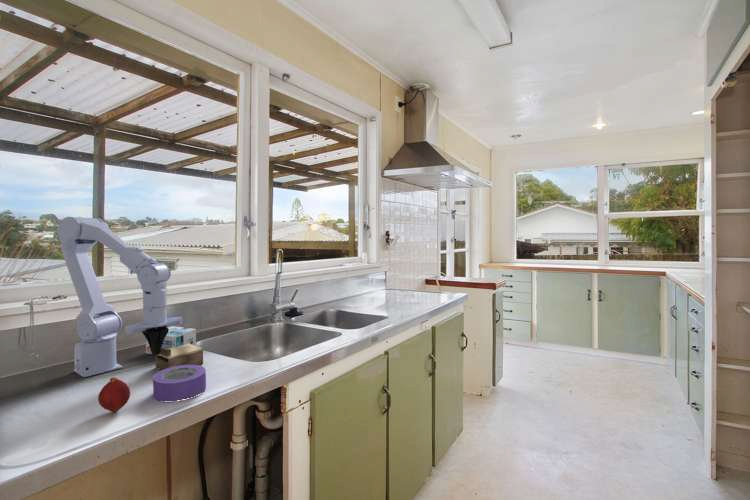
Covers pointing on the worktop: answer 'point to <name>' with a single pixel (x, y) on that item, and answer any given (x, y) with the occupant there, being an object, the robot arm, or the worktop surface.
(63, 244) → the robot arm
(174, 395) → the tape roll
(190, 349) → the lid
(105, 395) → the onion
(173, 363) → the walnut box
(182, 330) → the light bulb box
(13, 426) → the worktop surface
